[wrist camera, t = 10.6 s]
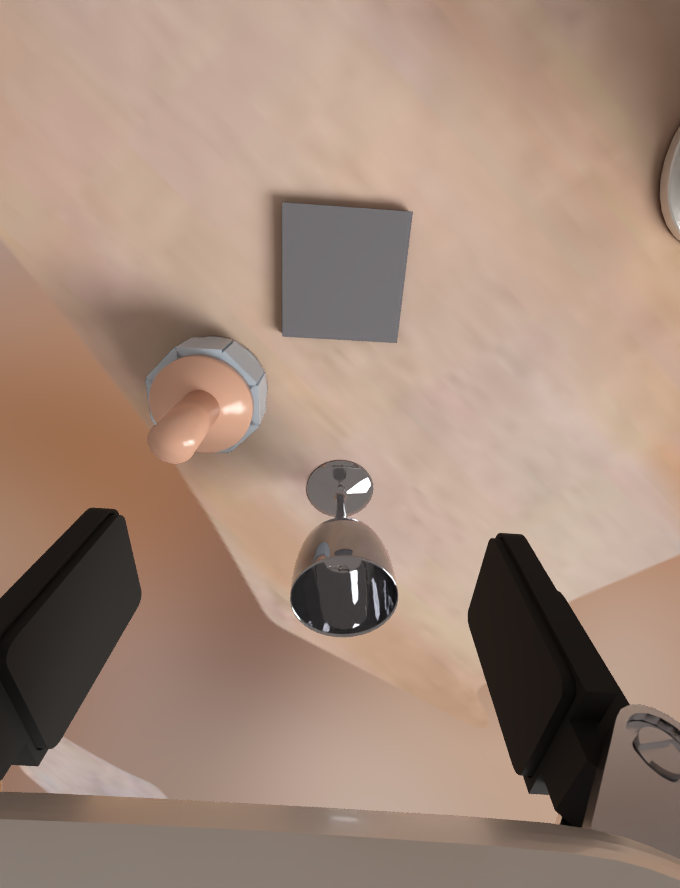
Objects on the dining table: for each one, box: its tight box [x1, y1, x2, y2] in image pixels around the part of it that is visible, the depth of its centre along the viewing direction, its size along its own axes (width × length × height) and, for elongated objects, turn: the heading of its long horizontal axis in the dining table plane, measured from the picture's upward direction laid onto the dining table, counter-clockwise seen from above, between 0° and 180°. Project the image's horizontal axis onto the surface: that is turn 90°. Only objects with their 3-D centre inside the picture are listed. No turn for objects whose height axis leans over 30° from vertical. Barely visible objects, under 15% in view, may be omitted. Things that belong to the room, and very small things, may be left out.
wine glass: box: [290, 460, 398, 637], centre depth 36 cm, size 8×8×15 cm
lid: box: [148, 354, 254, 464], centre depth 29 cm, size 8×8×8 cm
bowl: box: [145, 336, 268, 453], centre depth 35 cm, size 9×9×5 cm
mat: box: [282, 202, 413, 343], centre depth 33 cm, size 10×10×1 cm
